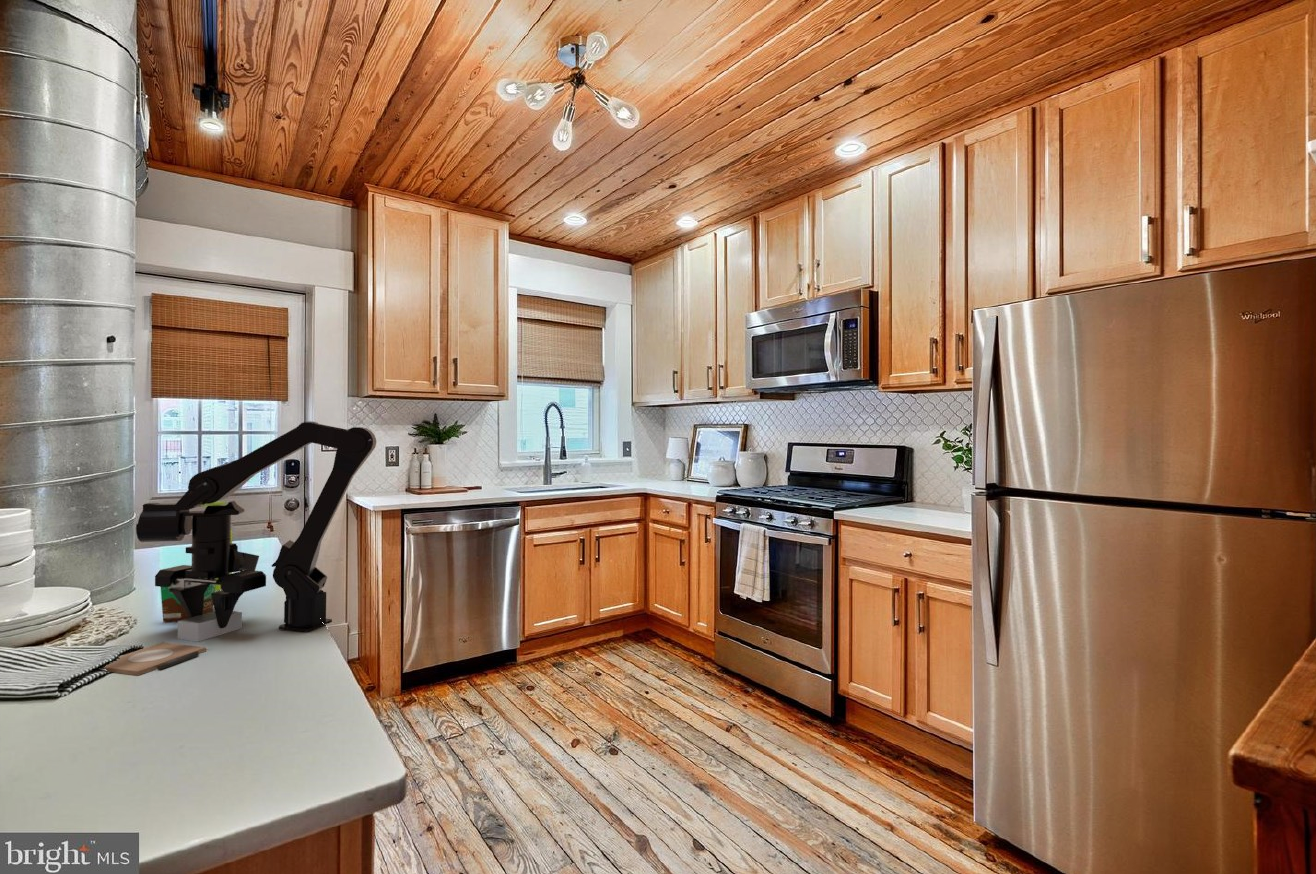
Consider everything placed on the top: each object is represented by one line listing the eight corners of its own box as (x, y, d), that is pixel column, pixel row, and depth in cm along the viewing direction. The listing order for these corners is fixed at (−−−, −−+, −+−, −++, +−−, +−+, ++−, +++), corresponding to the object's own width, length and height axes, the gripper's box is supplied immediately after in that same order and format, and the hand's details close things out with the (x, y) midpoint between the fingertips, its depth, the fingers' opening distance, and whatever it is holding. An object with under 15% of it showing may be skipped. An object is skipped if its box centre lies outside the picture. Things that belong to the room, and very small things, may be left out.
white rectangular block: (241, 628, 117) (241, 611, 116) (197, 641, 109) (198, 623, 109) (222, 625, 118) (222, 608, 118) (177, 638, 111) (177, 620, 111)
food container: (189, 625, 118) (189, 572, 118) (156, 624, 118) (157, 571, 118) (234, 607, 130) (235, 558, 130) (205, 606, 130) (206, 558, 130)
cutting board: (212, 651, 104) (212, 646, 104) (144, 676, 94) (144, 671, 94) (162, 645, 107) (162, 641, 107) (91, 669, 96) (91, 664, 96)
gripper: (290, 535, 119) (289, 618, 119) (210, 530, 123) (209, 610, 123) (239, 545, 108) (238, 636, 108) (153, 539, 112) (151, 627, 113)
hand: (210, 626), depth 114 cm, fingers closed on white rectangular block, 5 cm apart
